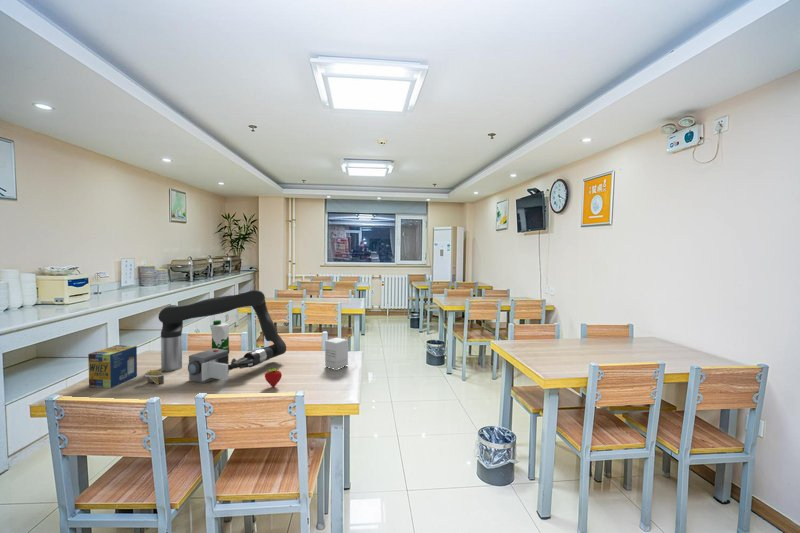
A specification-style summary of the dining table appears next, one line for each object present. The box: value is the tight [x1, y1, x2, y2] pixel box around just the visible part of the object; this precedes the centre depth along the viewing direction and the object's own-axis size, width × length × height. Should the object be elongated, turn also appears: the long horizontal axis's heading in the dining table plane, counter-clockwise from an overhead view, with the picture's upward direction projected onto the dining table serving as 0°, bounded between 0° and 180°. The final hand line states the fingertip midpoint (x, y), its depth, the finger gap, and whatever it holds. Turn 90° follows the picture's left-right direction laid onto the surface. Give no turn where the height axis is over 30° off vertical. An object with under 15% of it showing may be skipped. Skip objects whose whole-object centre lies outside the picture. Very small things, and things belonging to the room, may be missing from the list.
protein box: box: [87, 344, 138, 389], centre depth 163 cm, size 10×15×16 cm
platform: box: [144, 369, 168, 385], centre depth 162 cm, size 12×18×7 cm, turn 87°
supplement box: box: [324, 337, 349, 369], centre depth 188 cm, size 9×9×15 cm
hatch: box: [202, 360, 229, 381], centre depth 162 cm, size 7×12×8 cm, turn 70°
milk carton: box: [209, 319, 231, 353], centre depth 210 cm, size 9×9×20 cm
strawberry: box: [264, 367, 283, 388], centre depth 160 cm, size 6×8×10 cm
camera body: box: [187, 348, 230, 384], centre depth 170 cm, size 16×10×13 cm, turn 160°
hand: (228, 368), depth 164 cm, fingers closed
